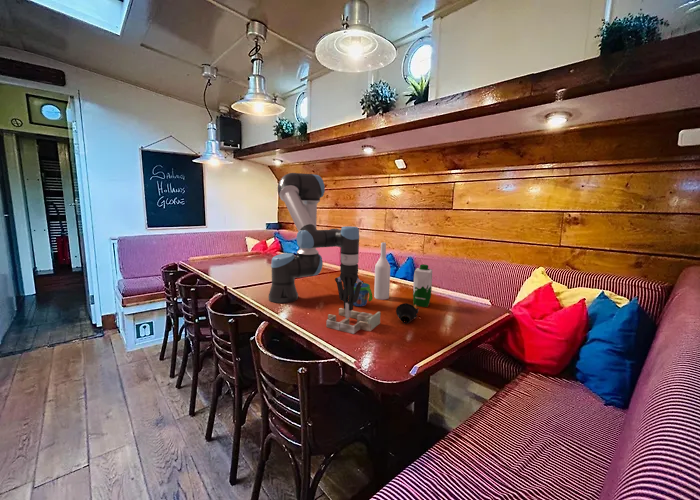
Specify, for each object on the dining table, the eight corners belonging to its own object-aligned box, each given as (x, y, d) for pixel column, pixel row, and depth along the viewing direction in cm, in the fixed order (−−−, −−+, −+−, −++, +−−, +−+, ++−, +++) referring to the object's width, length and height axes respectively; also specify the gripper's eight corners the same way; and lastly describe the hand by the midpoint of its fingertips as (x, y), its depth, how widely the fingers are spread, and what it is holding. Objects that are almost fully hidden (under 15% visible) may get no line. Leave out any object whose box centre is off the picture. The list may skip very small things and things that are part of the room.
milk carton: (431, 303, 159) (433, 265, 156) (429, 308, 151) (431, 268, 148) (414, 300, 163) (416, 263, 160) (411, 305, 154) (413, 266, 151)
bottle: (378, 294, 173) (380, 241, 168) (391, 297, 168) (393, 242, 164) (371, 297, 166) (373, 242, 162) (384, 300, 162) (386, 244, 157)
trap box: (320, 325, 127) (320, 314, 127) (339, 314, 141) (340, 303, 140) (363, 336, 118) (364, 324, 117) (380, 323, 131) (380, 311, 131)
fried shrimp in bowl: (391, 314, 129) (395, 290, 145) (401, 334, 133) (404, 308, 148) (412, 309, 126) (414, 285, 141) (421, 329, 129) (422, 303, 145)
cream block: (357, 325, 129) (357, 315, 128) (361, 322, 132) (362, 312, 132) (366, 327, 126) (367, 317, 126) (371, 324, 130) (371, 314, 130)
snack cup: (341, 302, 158) (341, 283, 156) (356, 298, 164) (357, 280, 163) (361, 310, 146) (361, 290, 144) (377, 306, 152) (378, 286, 151)
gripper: (331, 263, 129) (330, 316, 133) (359, 266, 123) (357, 323, 127) (340, 260, 136) (339, 311, 139) (367, 263, 130) (365, 317, 133)
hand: (348, 316), depth 133 cm, fingers closed
